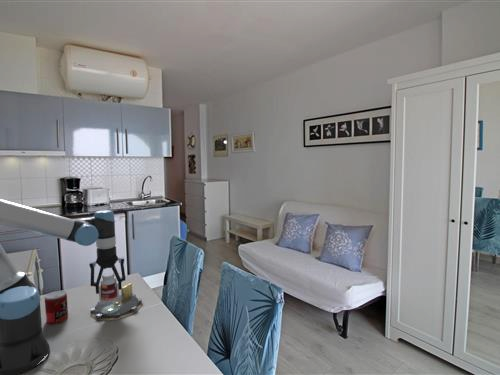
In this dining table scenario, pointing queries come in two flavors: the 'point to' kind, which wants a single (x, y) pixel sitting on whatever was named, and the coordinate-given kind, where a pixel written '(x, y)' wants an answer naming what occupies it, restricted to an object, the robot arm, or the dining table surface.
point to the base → (116, 318)
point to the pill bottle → (108, 287)
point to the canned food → (56, 307)
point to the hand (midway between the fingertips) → (109, 298)
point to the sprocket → (118, 304)
